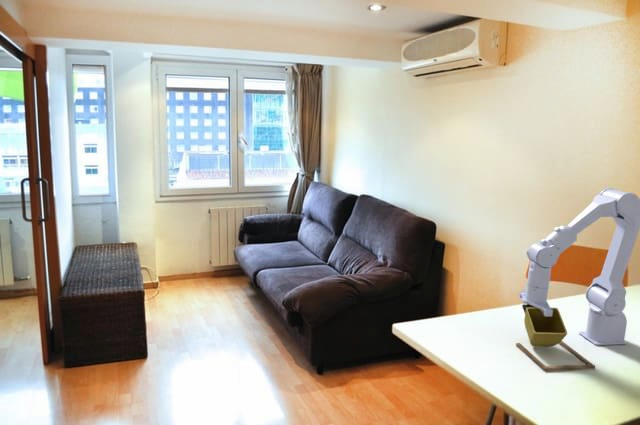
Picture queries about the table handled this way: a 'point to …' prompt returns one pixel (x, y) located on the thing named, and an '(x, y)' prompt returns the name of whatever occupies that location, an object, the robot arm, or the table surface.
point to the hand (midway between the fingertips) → (531, 329)
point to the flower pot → (544, 327)
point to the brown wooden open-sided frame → (564, 367)
